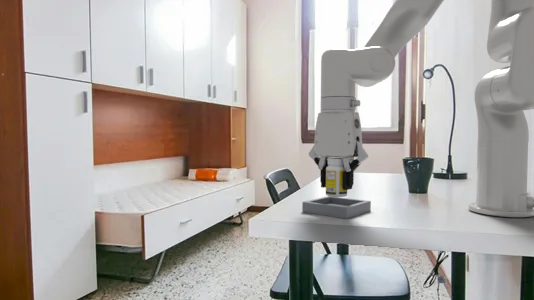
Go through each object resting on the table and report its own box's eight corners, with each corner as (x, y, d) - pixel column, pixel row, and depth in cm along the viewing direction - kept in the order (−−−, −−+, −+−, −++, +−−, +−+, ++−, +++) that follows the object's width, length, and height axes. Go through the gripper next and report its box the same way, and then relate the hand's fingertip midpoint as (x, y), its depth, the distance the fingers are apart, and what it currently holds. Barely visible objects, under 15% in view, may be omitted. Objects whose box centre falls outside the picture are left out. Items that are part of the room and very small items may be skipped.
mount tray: (370, 210, 86) (370, 201, 86) (346, 218, 78) (346, 208, 78) (328, 204, 93) (328, 196, 93) (302, 211, 85) (302, 201, 85)
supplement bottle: (346, 194, 87) (346, 157, 87) (348, 197, 83) (349, 159, 82) (324, 193, 88) (325, 157, 87) (326, 197, 83) (326, 158, 83)
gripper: (381, 105, 82) (379, 190, 82) (315, 109, 93) (314, 183, 94) (365, 103, 76) (363, 194, 77) (296, 107, 87) (295, 186, 88)
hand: (336, 187), depth 85 cm, fingers closed on supplement bottle, 4 cm apart
